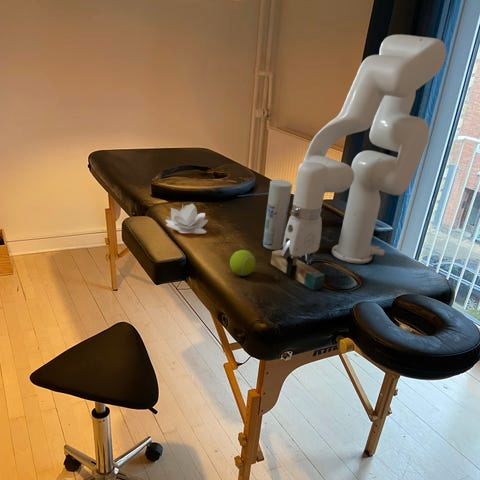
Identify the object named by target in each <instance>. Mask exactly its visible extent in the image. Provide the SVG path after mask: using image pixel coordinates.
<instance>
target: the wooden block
mask: <svg viewBox="0 0 480 480" xmlns="http://www.w3.org/2000/svg"><path fill="white" fill-rule="evenodd" d="M282 250H283V249H277V250H273V251H272V252H271V258H270V265H272V266H273V267H275V268H276V269H278V270H280V271H282V272H283V273H285V274H286V269H287V263H288V262H286V260H285V259H284V258H282V257H280V254H281V252H282ZM291 258H292V259H293V256H291ZM295 265H297V268H296V274H295V278H293V279H294V280H296V281H298V283H300V284H303V285H304V286H305V287H307V288H309V289H310V290H312V291H316V290H319V289H322V288H323V285H324V282H325V277H326V276H325V275H326V274H325V273H323V272H321V271H320V270H318V269H315V268H314V267H312V266H310V265H308V263H307V264H305V263H303V262H301V261H300V260H298V258H297V261H296V264H295Z"/></svg>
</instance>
